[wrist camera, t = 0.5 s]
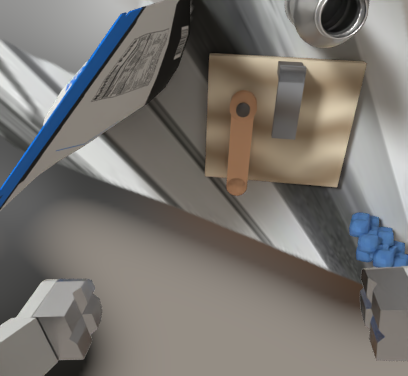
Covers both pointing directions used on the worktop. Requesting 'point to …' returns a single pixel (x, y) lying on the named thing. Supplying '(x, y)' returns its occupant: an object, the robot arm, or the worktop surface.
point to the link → (240, 143)
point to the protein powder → (108, 87)
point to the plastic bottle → (327, 20)
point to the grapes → (376, 242)
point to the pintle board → (312, 120)
